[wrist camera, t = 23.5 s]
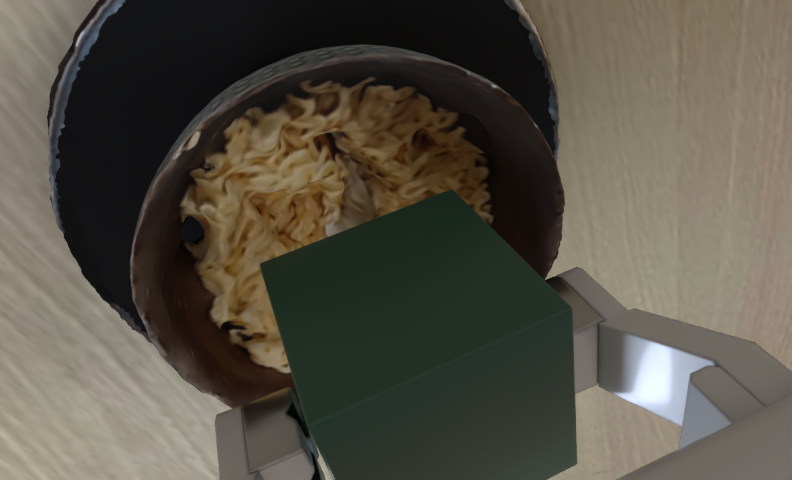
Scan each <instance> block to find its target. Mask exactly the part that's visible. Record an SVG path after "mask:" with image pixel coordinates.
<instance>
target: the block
mask: <svg viewBox="0 0 792 480" xmlns="http://www.w3.org/2000/svg"><path fill="white" fill-rule="evenodd" d="M260 269H261V273H262V276H263V279H264V283H265V286H266V289H267V293H268V296H269V300H270V303H271V306H272V310H273V313H274V316H275V320H276V323H277V326H278V330H279V333H280V337H281V340H282V343H283V347H284V350H285V353H286V357H287V360H288V363H289V367H290V370H291V374H292V377H293V380H294V384H295V387H296V390H297V394H298V397H299V400H300V404H301V407H302V411H303V414H304V417H305V421H306V424H307V427H308V429H309V431H310V433H311V435H312V437H313V439H314V441H315V443H316V445H317V447H318V449H319V451H320V453H321V455H322V457H323V459H324V462H325V464H326V466H327V468H328V470H329V472H330V474H331V476H332V478H333V480H547V479H549V478H551V477H553V476H554V475H556V474H558V473H560V472H562V471H564V470H566V469H568V468H570V467H572V466H574V465H576V464H577V445H576V410H575V376H574V341H573V310H572V307H571V306H570V305H569V304H568V303H567V302H566V301H565V300H564V299H563V298H562V297H561V296H560V295H559V294H558V293H557V292H556V291H555V290H554V289H553V288H552V287H551V286H550V285H549V284H548V283H547V282H546V281H545V280H544V279H543V278H542V277H541V276H540V275H539V274H538V273H537V272H536V271H535V270H534V269H533V268H532V267H531V266H530V265H529V264H528V263H527V262H526V261H525V260H524V259H523V258H522V257H521V256H520V255H519V254H518V253H517V252H516V251H515V250H513V249H512V248H511V247H510V246H509V245H508V244H507V243H506V242H505V241H504V240H503V239H502V238H501V237H500V236H499V235H498V234H497V233H496V232H495V231H494V230H493V229H492V228H491V227H490V226H489V225H488V224H487V223H486V222H485V221H484V220H483V219H482V218H481V217H480V216H479V215H478V214H477V213H476V212H475V211H474V210H473V209H472V208H471V207H470V206H469V205H468V204H467V203H466V202H465V201H464V200H463V199H462V198H461V197H460V196H459V195H458V194H457V193H456V192H455V191H454V190H453V189H450V190H447V191H445V192H442V193H440V194H437V195H434V196H432V197H429V198H427V199H424V200H422V201H419V202H416V203H414V204H411V205H409V206H406V207H404V208H401V209H399V210H396V211H393V212H391V213H388V214H386V215H383V216H381V217H378V218H375V219H373V220H370V221H368V222H365V223H363V224H360V225H357V226H355V227H352V228H350V229H347V230H345V231H342V232H339V233H337V234H334V235H332V236H329V237H327V238H324V239H321V240H319V241H316V242H314V243H311V244H309V245H306V246H303V247H301V248H298V249H296V250H293V251H291V252H288V253H285V254H283V255H280V256H278V257H275V258H273V259H270V260H267V261H265V262H262V263H261V264H260Z"/></svg>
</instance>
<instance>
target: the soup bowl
mask: <svg viewBox="0 0 792 480" xmlns="http://www.w3.org/2000/svg"><path fill="white" fill-rule="evenodd" d="M73 41H74V42H73V43H72V45H71V47H70V49H69V50H68V52H67V54H66V55H65V57H64V58H63V60H62V62H61V63H60V65H59V66H58V69H59V73H58V75H57V77H56V79H55V81H54V83H53V85H52V87H51V92H50V107H49V111H48V116H47V119H48V129H49V133H48V135H49V149H50V154H49V162H50V167H49V174H50V179H49V180H50V182H51V186H52V194H51V197H50V200H51V202H52V208H53V211H54V213H55V216H56V221H57V224H58V227H59V228H60V230H61V231H63V233H64V238H65V240H66V242H67V243H68V247H69V248H70V251H71V253H72V255H73V257H74V258H75V259H76V260H77V262H78V264H79V266H80V268H81V271H82V274H83V276H84V277H85V278H86V279H87V280H88V281H89V282H90V284H91V285H92V286H93V287H94V288H95V289H96V291H97V292H98V294H99V295H100V296H101V298H102V299H103V300H104V301H106V302H107V303H109V304H110V306H111V308H113V309H115V310H116V311H117V312H118V313H119V314H120V316H121V318H122V319H124V320H125V321H126V322H127V324H128V325H129V326H131V328H132V329H133V330H136V331H137V332H138V333H141V334H142V335H144V337H145V338H146V339H147V340H148V341H149V342H150V343H153V344H154V345H155V347H156V348H157V349H158V351H159V353H160V355H161V357H163V358H164V359H165V361H166V362H167V363H168V364H170V365H171V366H172V367H173V368H174V369H175V370H176V371H177V372H178V373H179V375H180V376H181V377H182V378H183V379H184V380H185V381H187V382H188V383H190V384H192V385H193V386H194V387H196V388H197V389H198V390H199V391H200V392H203V393H207V394H209V395H212V396H214V397H216V398H217V399H219V400H220V401H222V402H223V403H224V404H226V405H228V406H230V407H231V408H236V407H238V406H241V405H242V404H245V403H248V402H250V401H253V400H255V399H258V398H261V397H263V396H266V395H268V394H271V393H274V392H276V391H279V390H281V389H284V388H287V387H291V388H292V390H293V392H294V394H295V396H296V398H297V402H298V406H299V409H300V411H302V407H301V404H300V400H299V397H298V394H297V390H296V387H295V384H294V380H293V377H292V374H291V370H290V367H289V363H288V360H287V357H286V353H285V350H284V347H283V343H282V340H281V337H280V333H279V330H278V326H277V323H276V320H275V316H274V313H273V310H272V306H271V303H270V300H269V296H268V293H267V289H266V286H265V283H264V279H263V276H262V273H261V269H260V264H261V263H262V262H265V261H267V260H270V259H273V258H275V257H278V256H280V255H283V254H285V253H288V252H291V251H293V250H296V249H298V248H301V247H303V246H306V245H309V244H311V243H314V242H316V241H319V240H321V239H324V238H327V237H329V236H332V235H334V234H337V233H339V232H342V231H345V230H347V229H350V228H352V227H355V226H357V225H360V224H363V223H365V222H368V221H370V220H373V219H375V218H378V217H381V216H383V215H386V214H388V213H391V212H393V211H396V210H399V209H401V208H404V207H406V206H409V205H411V204H414V203H416V202H419V201H422V200H424V199H427V198H429V197H432V196H434V195H437V194H440V193H442V192H445V191H447V190H450V189H453V190H454V191H455V192H456V193H457V194H458V195H459V196H460V197H461V198H462V199H463V200H464V201H465V202H466V203H467V204H468V205H469V206H470V207H471V208H472V209H473V210H474V211H475V212H476V213H477V214H478V215H479V216H480V217H481V218H482V219H483V220H484V221H485V222H486V223H487V224H488V225H489V226H490V227H491V228H492V229H493V230H494V231H495V232H496V233H497V234H498V235H499V236H500V237H501V238H502V239H503V240H504V241H505V242H506V243H507V244H508V245H509V246H510V247H511V248H512V249H513V250H515V251H516V252H517V253H518V254H519V255H520V256H521V257H522V258H523V259H524V260H525V261H526V262H527V263H528V264H529V265H530V266H531V267H532V268H533V269H534V270H535V271H536V272H537V273H538V274H539V275H540V276H541V277H542V278H543V279H544V280H545V278H546V277H547V275H548V272H549V271H550V269H551V267H552V265H553V262H554V260H555V259H556V258H557V255H558V249H559V246H560V241H561V238H562V222H563V221H562V220H563V213H564V205H565V198H564V190H563V186H562V183H561V179H560V176H559V172H558V168H557V160H558V158H559V143H560V139H559V138H558V125H559V112H558V94H557V85H556V81H555V78H554V75H553V72H552V68H551V65H550V62H549V59H548V54H547V52H546V50H545V47H544V44H543V41H542V38H541V37H540V35H539V33H538V30H537V28H536V26H535V24H534V23H533V22H532V20H531V17H530V14H527V12H526V10H525V8H524V6H523V4H522V2H521V0H99V1H98V2H97V3H96V5H95V6H94V7H93V9H92V10H91V12H90V13H89V14H88V16H87V17H86V18H85V20H84V21H83V22H82V24H81V25H80V27H79V28H78V30H77V31H76V32H75V35H74V38H73Z"/></svg>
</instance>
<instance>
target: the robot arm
mask: <svg viewBox="0 0 792 480" xmlns="http://www.w3.org/2000/svg"><path fill="white" fill-rule="evenodd" d="M545 281H546V282H547V283H548V284H549V285H550V286H551V287H552V288H553V289H554V290H555V291H556V292H557V293H558V294H559V295H560V296H561V297H562V298H563V299H564V300H565V301H566V302H567V303H568V304H569V305H570V306H571V307H572V310H573V341H574V376H575V394H576V393H579V392H581V391H583V390H586V389H588V388H591V387H593V386H595V385H598V384H599V387H601V388H603V389H605V390H607V391H609V392H611V393H613V394H615V395H617V396H620V397H622V398H624V399H626V400H628V401H630V402H632V403H634V404H636V405H638V406H640V407H642V408H644V409H646V410H648V411H650V412H652V413H654V414H657V415H659V416H661V417H663V418H665V419H667V420H669V421H671V422H673V423H675V424H677V425H679V426H681V427H682V429H681V436H680V442H679V449H678V450H676V451H674V452H672V453H670V454H668V455H666V456H664V457H662V458H659V459H657V460H655V461H653V462H651V463H649V464H647V465H645V466H643V467H641V468H639V469H637V470H635V471H633V472H631V473H628V474H626V475H624V476H622V477H620V478H618V479H616V480H792V371H791V370H789V369H788V368H787V367H785V366H784V365H783V364H782V363H780V362H779V361H778V360H777V359H775V358H774V357H773V356H771V355H770V354H769V353H768V352H766V351H765V350H764V349H763V348H761V347H760V346H759V345H757V344H756V343H755V342H752V341H748V340H745V339H741V338H738V337H734V336H731V335H727V334H723V333H720V332H716V331H713V330H709V329H706V328H702V327H699V326H695V325H692V324H688V323H685V322H681V321H677V320H674V319H670V318H667V317H663V316H660V315H656V314H653V313H649V312H646V311H642V310H638V309H635V308H634V309H632V310H629V311H628V310H627V309H626V308H625V307H624V306H622V305H621V304H620V303H619V302H618V301H617V300H616V299H615V298H614V297H613V296H612V295H610V294H609V293H608V292H607V291H606V290H605V289H604V288H603V287H602V286H601V285H599V284H598V283H597V282H596V281H595V280H594V279H593V278H592V277H591V276H590V275H589V274H587V273H586V272H585V271H584V270H583V269H582V268H579V267H575V268H573V269H571V270H568V271H566V272H564V273H561V274H559V275H557V276H556V277H552V278H549V279H547V280H545ZM215 431H216V442H217V453H218V464H219V475H220V480H326V479H325V476H324V473H323V471H322V469H321V467H320V465H319V463H318V461H317V459H318V456H319V453H318V450H317V446H316V443H315V441H314V439H313V437H312V435H311V433H310V431H309V429H308V427H307V424H306V421H305V417H304V414H303V411H300V409H299V406H298V402H297V398H296V396H295V394H294V392H293V390H292V388H291V387H287V388H284V389H281V390H279V391H276V392H274V393H271V394H268V395H266V396H263V397H261V398H258V399H255V400H253V401H250V402H248V403H245V404H242V405H241V406H238V407H236V408H233V409H231V410H228V411H225V412H223V413H220V414H218V415H216V419H215Z"/></svg>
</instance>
